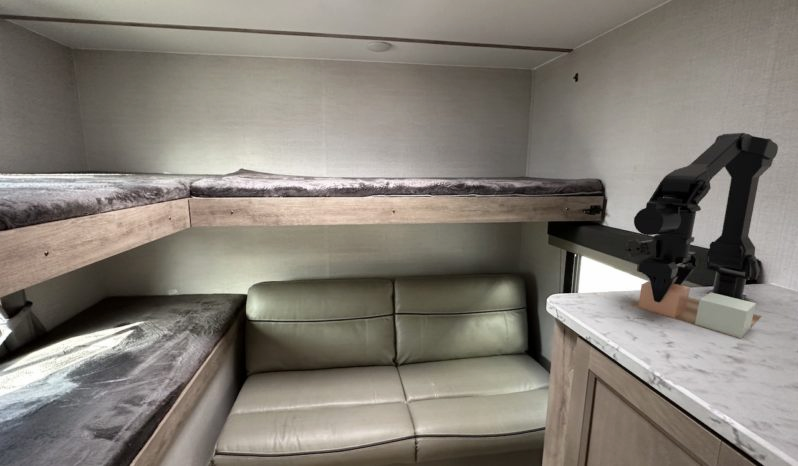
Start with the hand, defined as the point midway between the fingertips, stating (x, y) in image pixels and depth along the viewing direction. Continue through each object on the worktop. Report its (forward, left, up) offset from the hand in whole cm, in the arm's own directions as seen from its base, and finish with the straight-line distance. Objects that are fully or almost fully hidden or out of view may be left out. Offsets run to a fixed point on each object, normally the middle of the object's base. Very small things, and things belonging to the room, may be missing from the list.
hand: (663, 298), depth 79 cm
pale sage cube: (0, +11, -2) cm, 11 cm away
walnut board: (-5, +5, -4) cm, 8 cm away
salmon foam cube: (0, 0, -2) cm, 2 cm away
